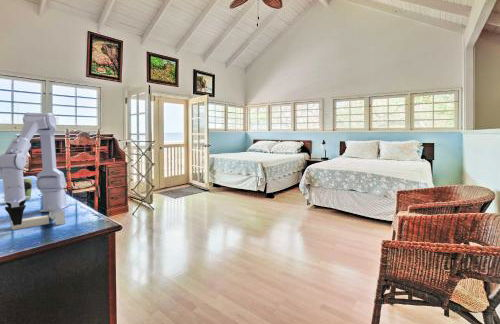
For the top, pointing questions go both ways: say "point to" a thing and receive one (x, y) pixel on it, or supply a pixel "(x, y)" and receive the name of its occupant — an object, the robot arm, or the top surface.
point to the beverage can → (28, 187)
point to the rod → (32, 222)
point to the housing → (57, 214)
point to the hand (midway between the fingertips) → (17, 222)
